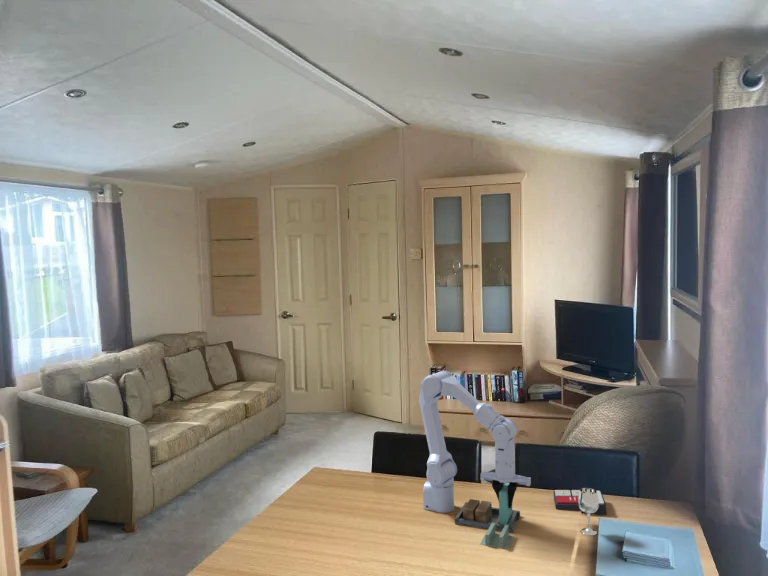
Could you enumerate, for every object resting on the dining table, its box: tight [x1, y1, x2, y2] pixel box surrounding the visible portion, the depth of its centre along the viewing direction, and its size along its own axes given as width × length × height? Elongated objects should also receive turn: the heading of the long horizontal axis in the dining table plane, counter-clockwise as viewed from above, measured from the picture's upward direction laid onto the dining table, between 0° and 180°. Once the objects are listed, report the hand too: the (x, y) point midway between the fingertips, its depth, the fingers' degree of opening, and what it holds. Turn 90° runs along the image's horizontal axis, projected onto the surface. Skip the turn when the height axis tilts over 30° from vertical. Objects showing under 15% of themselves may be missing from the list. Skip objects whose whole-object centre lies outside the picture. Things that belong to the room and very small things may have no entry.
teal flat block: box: [498, 483, 513, 525], centre depth 178 cm, size 2×9×10 cm, turn 157°
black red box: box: [553, 489, 608, 516], centre depth 191 cm, size 11×4×15 cm
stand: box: [479, 523, 515, 550], centre depth 167 cm, size 8×8×4 cm
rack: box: [454, 501, 521, 534], centre depth 181 cm, size 17×12×3 cm
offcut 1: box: [463, 498, 481, 520], centre depth 183 cm, size 3×8×4 cm, turn 157°
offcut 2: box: [475, 500, 493, 522], centre depth 181 cm, size 3×8×4 cm, turn 157°
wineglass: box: [578, 487, 599, 536], centre depth 173 cm, size 6×6×12 cm
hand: (505, 506), depth 178 cm, fingers closed on teal flat block, 2 cm apart
